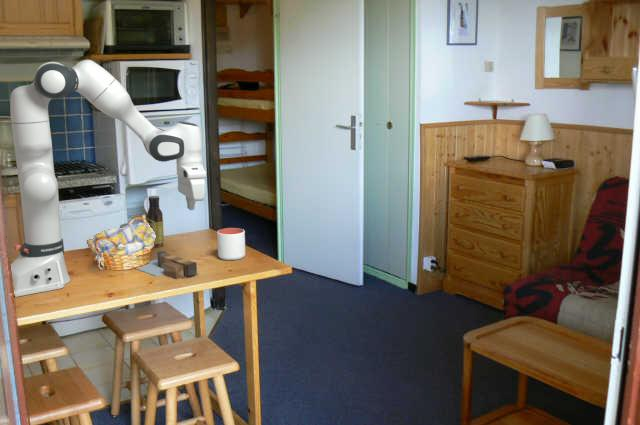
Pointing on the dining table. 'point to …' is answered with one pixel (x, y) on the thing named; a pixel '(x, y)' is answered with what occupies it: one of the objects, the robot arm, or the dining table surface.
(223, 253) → the cup
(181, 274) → the stop block
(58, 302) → the dining table surface
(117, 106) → the robot arm
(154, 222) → the sauce bottle
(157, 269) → the blue-grey square mat
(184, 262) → the leg
